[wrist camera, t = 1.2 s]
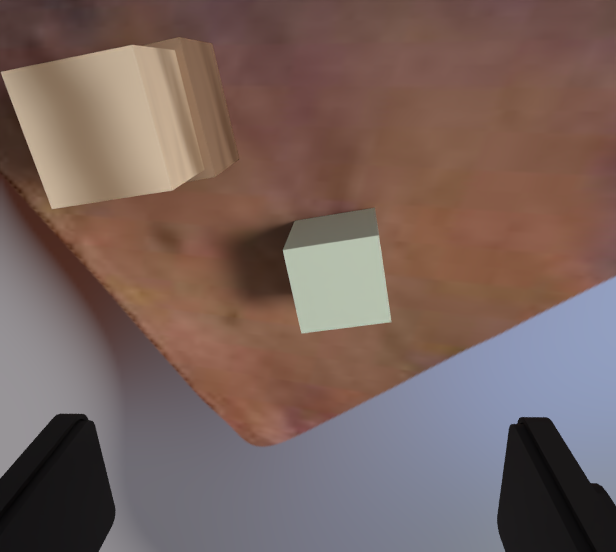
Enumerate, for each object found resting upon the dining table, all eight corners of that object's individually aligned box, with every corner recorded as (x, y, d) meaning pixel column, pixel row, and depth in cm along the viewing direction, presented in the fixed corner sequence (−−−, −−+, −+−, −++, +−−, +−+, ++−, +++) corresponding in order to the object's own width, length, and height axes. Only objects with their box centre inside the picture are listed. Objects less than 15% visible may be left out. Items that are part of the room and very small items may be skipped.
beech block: (174, 50, 24) (132, 44, 20) (204, 169, 26) (172, 190, 22) (65, 71, 25) (0, 72, 20) (103, 186, 27) (51, 209, 23)
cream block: (212, 43, 29) (179, 37, 24) (239, 158, 32) (215, 177, 26) (107, 67, 30) (52, 65, 25) (141, 176, 33) (98, 197, 28)
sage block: (374, 207, 32) (378, 235, 27) (385, 282, 34) (391, 322, 29) (294, 220, 33) (282, 250, 28) (309, 292, 35) (301, 333, 30)
